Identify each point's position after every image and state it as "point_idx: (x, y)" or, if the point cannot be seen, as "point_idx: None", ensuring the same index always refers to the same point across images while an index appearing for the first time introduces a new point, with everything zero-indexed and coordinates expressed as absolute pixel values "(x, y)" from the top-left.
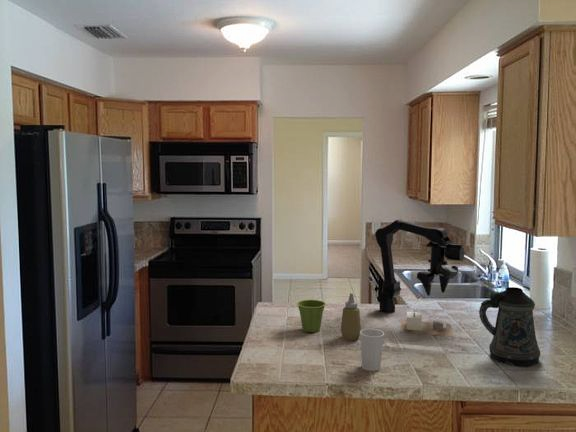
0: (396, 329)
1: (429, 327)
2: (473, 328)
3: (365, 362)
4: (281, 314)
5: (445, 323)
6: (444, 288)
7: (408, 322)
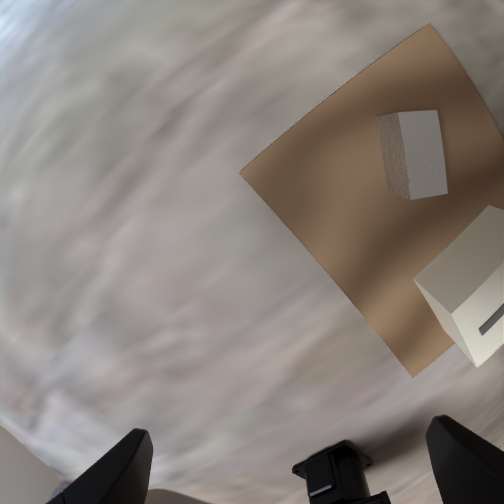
0: None
1: (422, 210)
2: (129, 80)
3: None
4: None
5: (401, 112)
6: (125, 471)
7: None
